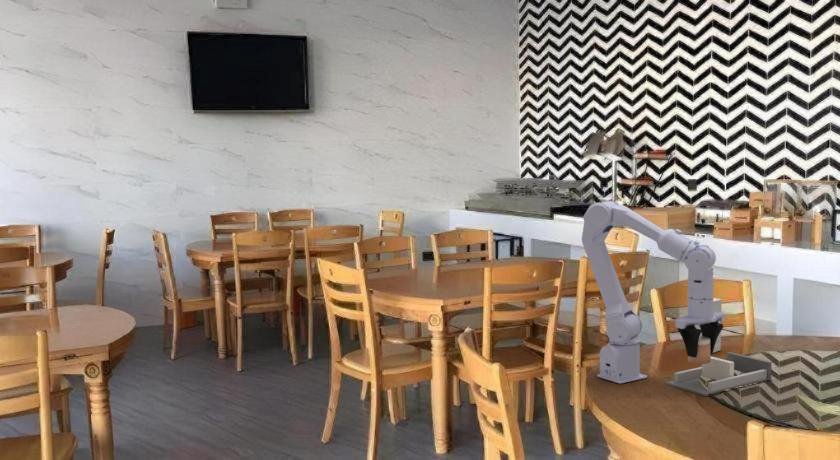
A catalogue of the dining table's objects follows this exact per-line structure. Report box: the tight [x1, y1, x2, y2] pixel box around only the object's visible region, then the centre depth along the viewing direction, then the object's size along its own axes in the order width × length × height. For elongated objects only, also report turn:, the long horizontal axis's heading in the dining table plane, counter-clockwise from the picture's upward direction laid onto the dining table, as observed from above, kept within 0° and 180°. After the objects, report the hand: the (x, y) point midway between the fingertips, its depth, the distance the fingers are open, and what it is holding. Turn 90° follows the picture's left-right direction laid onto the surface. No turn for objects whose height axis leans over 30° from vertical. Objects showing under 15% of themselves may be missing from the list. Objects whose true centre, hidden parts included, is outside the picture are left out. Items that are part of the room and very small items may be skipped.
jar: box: [687, 336, 712, 365], centre depth 187 cm, size 5×5×6 cm
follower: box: [701, 356, 734, 380], centre depth 191 cm, size 2×8×5 cm, turn 30°
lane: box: [664, 351, 772, 397], centre depth 191 cm, size 24×12×4 cm, turn 120°
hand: (700, 354), depth 187 cm, fingers closed on jar, 5 cm apart
